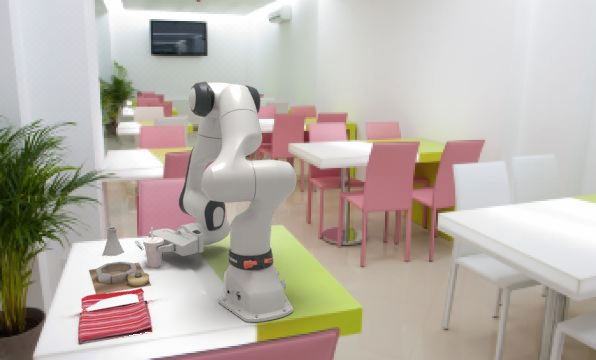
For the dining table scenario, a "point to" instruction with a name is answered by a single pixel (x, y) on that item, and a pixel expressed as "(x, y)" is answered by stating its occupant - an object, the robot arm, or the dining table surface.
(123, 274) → the socket ring
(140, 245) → the fork
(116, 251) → the flask
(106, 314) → the dish towel
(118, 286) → the carrier board
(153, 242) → the smoothie
